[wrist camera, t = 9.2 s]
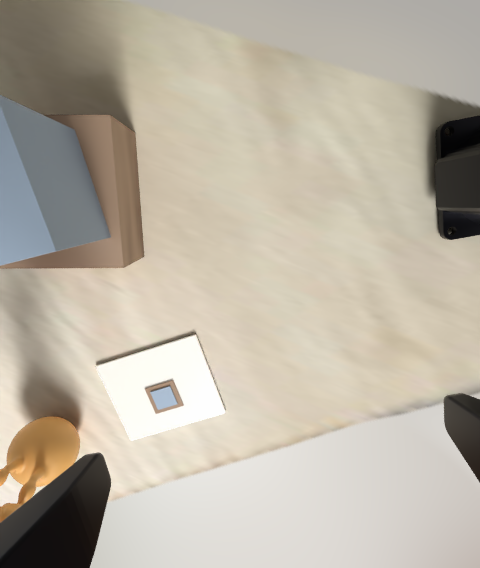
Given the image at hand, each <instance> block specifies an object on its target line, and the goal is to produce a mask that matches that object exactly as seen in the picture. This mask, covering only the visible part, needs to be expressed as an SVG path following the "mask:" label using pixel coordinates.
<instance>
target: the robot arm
mask: <svg viewBox="0 0 480 568" xmlns="http://www.w3.org/2000/svg"><path fill="white" fill-rule="evenodd" d="M446 128H448V129H449V135H448V136H446V135H445V129H446ZM436 154H437V162H436V163H435V184H436V207H437V208H438V210H439V233H440V236H441V237H442V238H444V239H448V240H453V239H459V238H464V237H470V236H475V235H480V116H475V117H469V118H464V119H459V120H454V121H449V122H446V123H444V124H441V125H440V126H439V127H438V129H437V130H436ZM450 227H451V228H452V232H451V233H450V234H448V229H449V228H450ZM444 422H445V427H446V430H447V432H448V434H449V436H450V437H451V439H452V440H453V442H454V443H455V445H456V446H457V448H458V449H459V451H460V452H461V454H462V456H463V457H464V459H465V460H466V462H467V463H468V465H469V466H470V468H471V470H472V471H473V473H474V474H475V476H476V477H477V479H478V480H479V482H480V399H477V398H474V397H471V396H469V395H466V394H463V393H458V394H452V395H447V396H446V397H445V398H444ZM110 487H111V478H110V474H109V471H108V468H107V465H106V462H105V459H104V457H103V455H102V454H101V453H93V454H87V455H84V456H83V457H82V458H80V459H79V460H78V461H77V462H75V463H74V464H73V465H72V466H70V467H69V468H68V469H67V470H65V471H64V472H63V473H62V474H60V475H59V476H58V477H57V478H55V479H54V480H53V481H52V482H50V483H49V484H48V485H47V486H45V487H44V488H43V489H42V490H40V491H39V492H38V493H37V494H35V495H34V496H33V497H32V498H30V499H29V500H28V501H27V502H25V503H24V504H23V505H22V506H20V507H19V508H18V509H17V510H15V511H14V512H13V513H12V514H11V515H9V516H8V517H7V518H6V519H4V520H3V521H2V522H1V523H0V568H90V565H91V562H92V558H93V555H94V552H95V548H96V545H97V541H98V537H99V533H100V528H101V525H102V520H103V516H104V512H105V508H106V504H107V500H108V496H109V492H110Z"/></svg>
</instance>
